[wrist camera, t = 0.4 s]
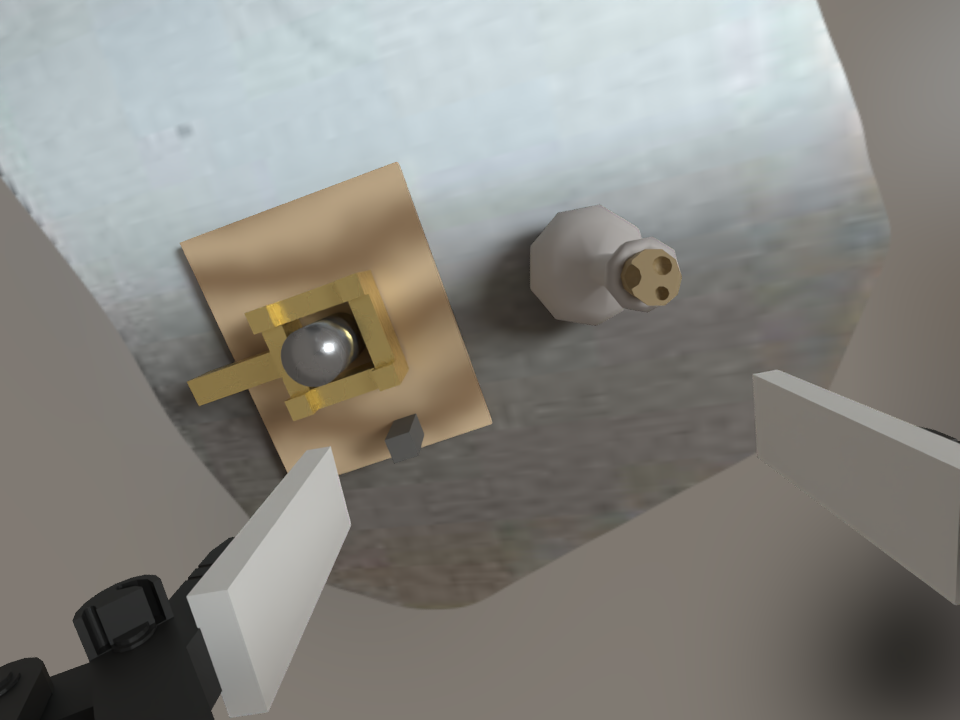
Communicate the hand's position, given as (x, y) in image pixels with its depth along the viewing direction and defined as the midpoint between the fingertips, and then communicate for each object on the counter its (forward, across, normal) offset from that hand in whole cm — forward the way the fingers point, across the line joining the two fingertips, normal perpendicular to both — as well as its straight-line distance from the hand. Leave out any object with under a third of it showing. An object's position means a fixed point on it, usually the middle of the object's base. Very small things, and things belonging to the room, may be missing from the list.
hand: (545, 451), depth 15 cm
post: (+27, -13, +1) cm, 30 cm away
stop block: (+25, -9, -7) cm, 28 cm away
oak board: (+27, -13, +1) cm, 30 cm away
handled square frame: (+25, -16, +1) cm, 30 cm away
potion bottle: (+27, +7, +4) cm, 28 cm away
